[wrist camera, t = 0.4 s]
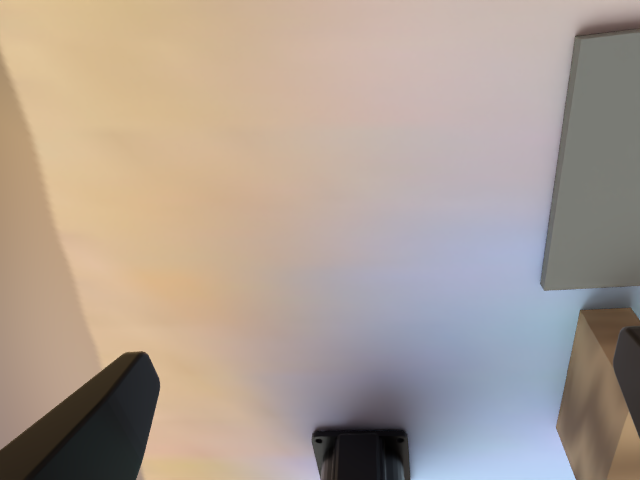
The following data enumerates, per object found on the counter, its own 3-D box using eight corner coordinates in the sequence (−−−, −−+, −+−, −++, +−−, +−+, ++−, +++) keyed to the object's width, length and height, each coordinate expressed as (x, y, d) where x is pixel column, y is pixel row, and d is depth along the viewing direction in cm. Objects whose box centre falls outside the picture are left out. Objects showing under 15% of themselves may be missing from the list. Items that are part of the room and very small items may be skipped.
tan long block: (596, 425, 30) (642, 523, 25) (555, 426, 31) (592, 522, 26) (629, 306, 25) (695, 399, 20) (579, 308, 25) (631, 400, 20)
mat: (666, 276, 24) (673, 283, 23) (540, 283, 24) (544, 290, 24) (749, 15, 17) (761, 17, 17) (575, 36, 18) (581, 39, 18)
